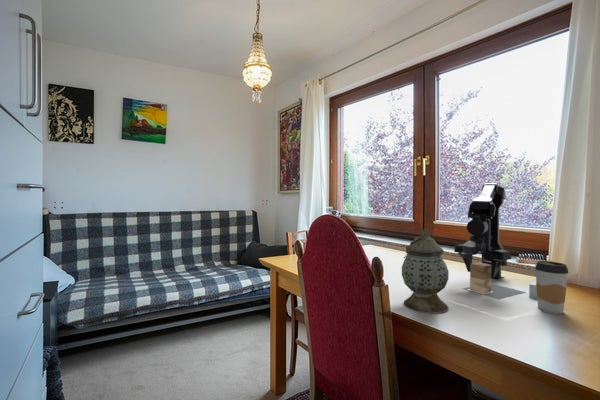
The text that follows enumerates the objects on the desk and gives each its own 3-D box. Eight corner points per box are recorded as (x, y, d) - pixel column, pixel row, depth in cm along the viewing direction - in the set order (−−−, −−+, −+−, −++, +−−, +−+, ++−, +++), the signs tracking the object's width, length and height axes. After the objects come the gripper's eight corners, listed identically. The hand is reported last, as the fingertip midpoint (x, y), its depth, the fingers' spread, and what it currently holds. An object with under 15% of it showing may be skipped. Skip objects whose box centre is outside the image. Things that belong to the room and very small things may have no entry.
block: (532, 295, 114) (532, 281, 114) (549, 298, 111) (549, 284, 111) (529, 298, 111) (529, 284, 111) (546, 301, 107) (547, 287, 107)
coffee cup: (560, 307, 101) (561, 261, 101) (573, 317, 93) (574, 267, 93) (530, 304, 104) (530, 259, 104) (540, 313, 96) (541, 264, 96)
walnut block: (478, 275, 121) (478, 262, 121) (491, 278, 117) (491, 265, 116) (470, 276, 119) (470, 263, 118) (483, 279, 114) (483, 266, 114)
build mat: (488, 283, 129) (488, 282, 129) (526, 293, 116) (526, 292, 116) (461, 289, 120) (461, 288, 120) (498, 300, 108) (499, 299, 108)
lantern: (427, 317, 92) (428, 232, 92) (392, 302, 105) (393, 228, 104) (458, 309, 98) (459, 230, 98) (421, 296, 111) (422, 226, 111)
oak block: (477, 288, 121) (478, 275, 121) (491, 291, 117) (491, 278, 116) (470, 289, 119) (470, 276, 119) (483, 293, 114) (483, 279, 114)
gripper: (445, 231, 122) (444, 271, 122) (494, 237, 105) (493, 283, 105) (463, 230, 127) (462, 268, 127) (512, 235, 111) (511, 279, 111)
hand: (480, 274), depth 118 cm, fingers open, 9 cm apart
